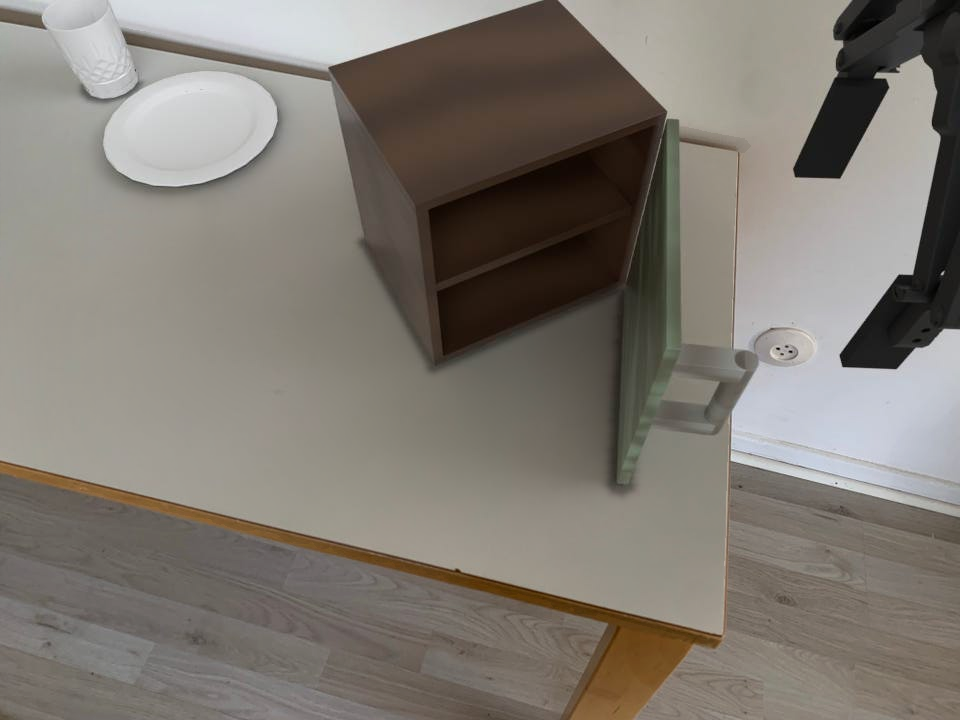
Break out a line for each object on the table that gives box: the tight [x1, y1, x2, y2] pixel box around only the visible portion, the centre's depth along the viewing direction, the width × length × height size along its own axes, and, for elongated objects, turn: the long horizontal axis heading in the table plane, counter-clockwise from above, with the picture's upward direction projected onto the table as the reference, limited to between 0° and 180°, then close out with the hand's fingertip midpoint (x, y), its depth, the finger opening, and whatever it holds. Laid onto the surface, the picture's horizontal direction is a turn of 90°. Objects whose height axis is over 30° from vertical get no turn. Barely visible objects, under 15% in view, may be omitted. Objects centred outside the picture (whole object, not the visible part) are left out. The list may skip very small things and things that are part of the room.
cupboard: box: [327, 0, 668, 367], centre depth 69 cm, size 18×22×22 cm
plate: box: [102, 70, 279, 189], centre depth 89 cm, size 21×21×2 cm
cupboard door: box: [615, 118, 760, 486], centre depth 61 cm, size 7×22×22 cm, turn 172°
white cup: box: [41, 0, 139, 100], centre depth 91 cm, size 8×8×10 cm
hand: (839, 260), depth 41 cm, fingers open, 13 cm apart
